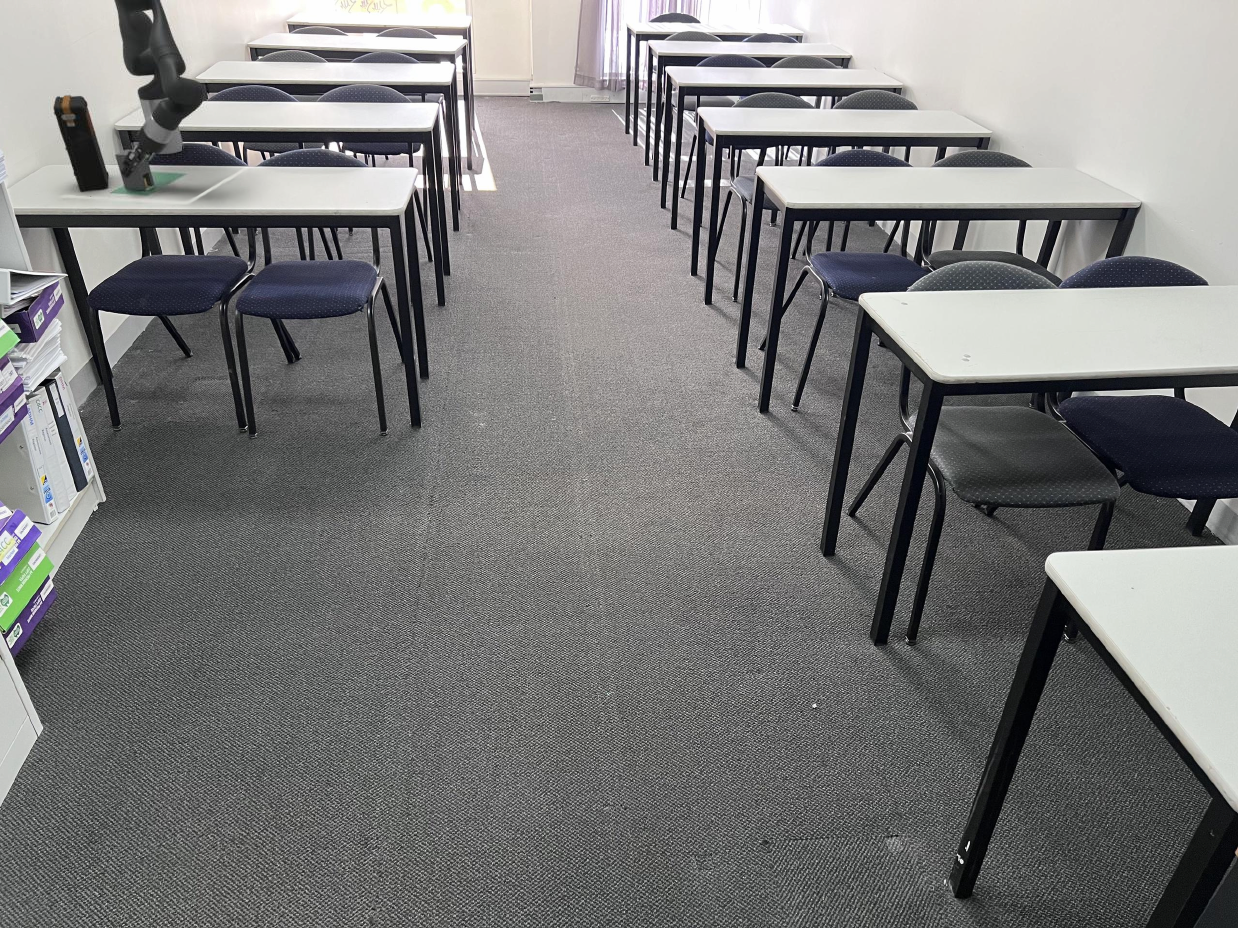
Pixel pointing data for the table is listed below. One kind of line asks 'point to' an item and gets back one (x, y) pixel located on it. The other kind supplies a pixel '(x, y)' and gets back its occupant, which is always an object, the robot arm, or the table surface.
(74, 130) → the black bag
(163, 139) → the robot arm
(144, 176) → the plug housing
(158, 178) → the header board
